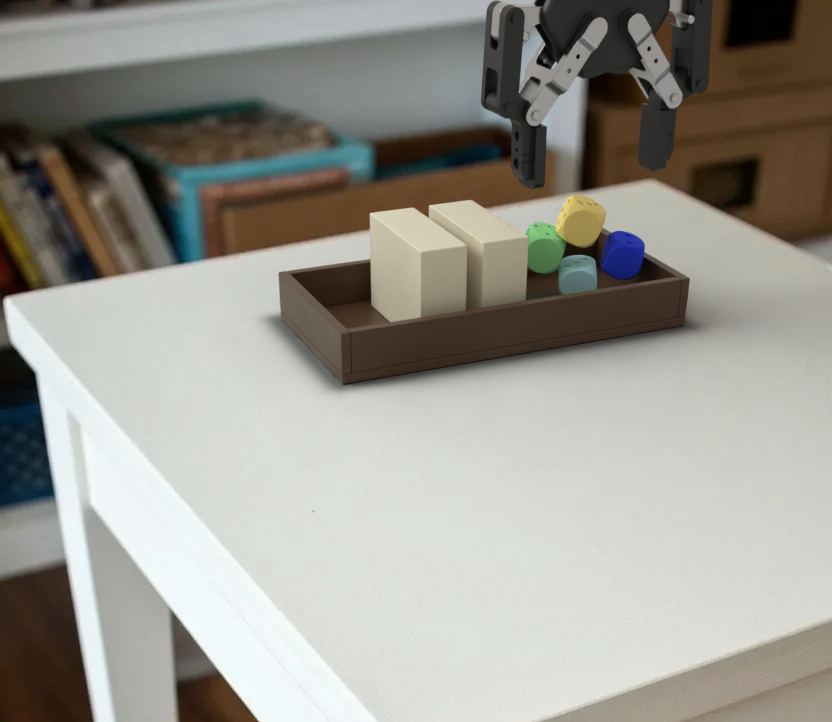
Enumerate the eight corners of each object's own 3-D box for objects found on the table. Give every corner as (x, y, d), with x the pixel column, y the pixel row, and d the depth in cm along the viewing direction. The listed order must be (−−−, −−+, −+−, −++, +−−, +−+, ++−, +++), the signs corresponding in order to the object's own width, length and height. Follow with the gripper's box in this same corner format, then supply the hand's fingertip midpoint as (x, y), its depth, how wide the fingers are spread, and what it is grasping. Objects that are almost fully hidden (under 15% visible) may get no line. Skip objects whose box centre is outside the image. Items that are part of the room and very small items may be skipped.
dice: (642, 281, 91) (642, 184, 87) (646, 296, 89) (646, 198, 85) (520, 290, 92) (515, 194, 88) (521, 305, 89) (516, 208, 86)
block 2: (469, 290, 91) (471, 199, 88) (524, 332, 85) (529, 236, 82) (427, 296, 90) (428, 204, 87) (480, 340, 84) (483, 242, 81)
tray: (597, 270, 96) (600, 226, 94) (685, 325, 88) (690, 278, 86) (280, 318, 88) (278, 271, 87) (342, 384, 80) (340, 333, 78)
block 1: (413, 299, 90) (413, 206, 86) (465, 342, 84) (467, 245, 80) (370, 305, 89) (369, 212, 85) (420, 350, 83) (420, 251, 79)
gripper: (680, -132, 82) (657, 149, 91) (463, -119, 77) (461, 176, 86) (756, -121, 76) (723, 178, 85) (526, -106, 71) (517, 209, 80)
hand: (591, 177), depth 85 cm, fingers open, 8 cm apart
